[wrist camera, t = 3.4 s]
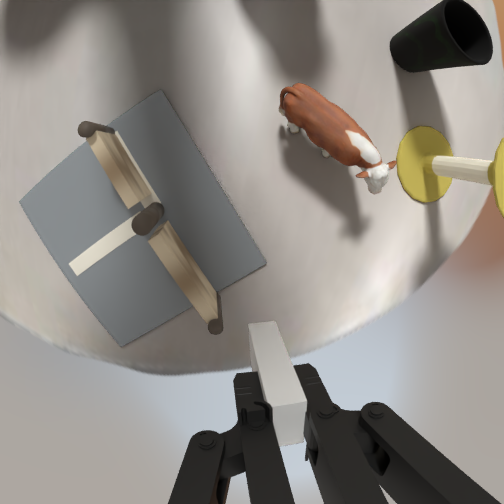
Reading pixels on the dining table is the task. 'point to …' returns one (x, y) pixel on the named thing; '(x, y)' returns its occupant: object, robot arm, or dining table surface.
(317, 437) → the robot arm
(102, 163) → the fence fixed
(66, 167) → the card
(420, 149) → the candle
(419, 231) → the dining table surface
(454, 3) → the cup
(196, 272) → the fence hinged
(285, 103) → the bull figurine
